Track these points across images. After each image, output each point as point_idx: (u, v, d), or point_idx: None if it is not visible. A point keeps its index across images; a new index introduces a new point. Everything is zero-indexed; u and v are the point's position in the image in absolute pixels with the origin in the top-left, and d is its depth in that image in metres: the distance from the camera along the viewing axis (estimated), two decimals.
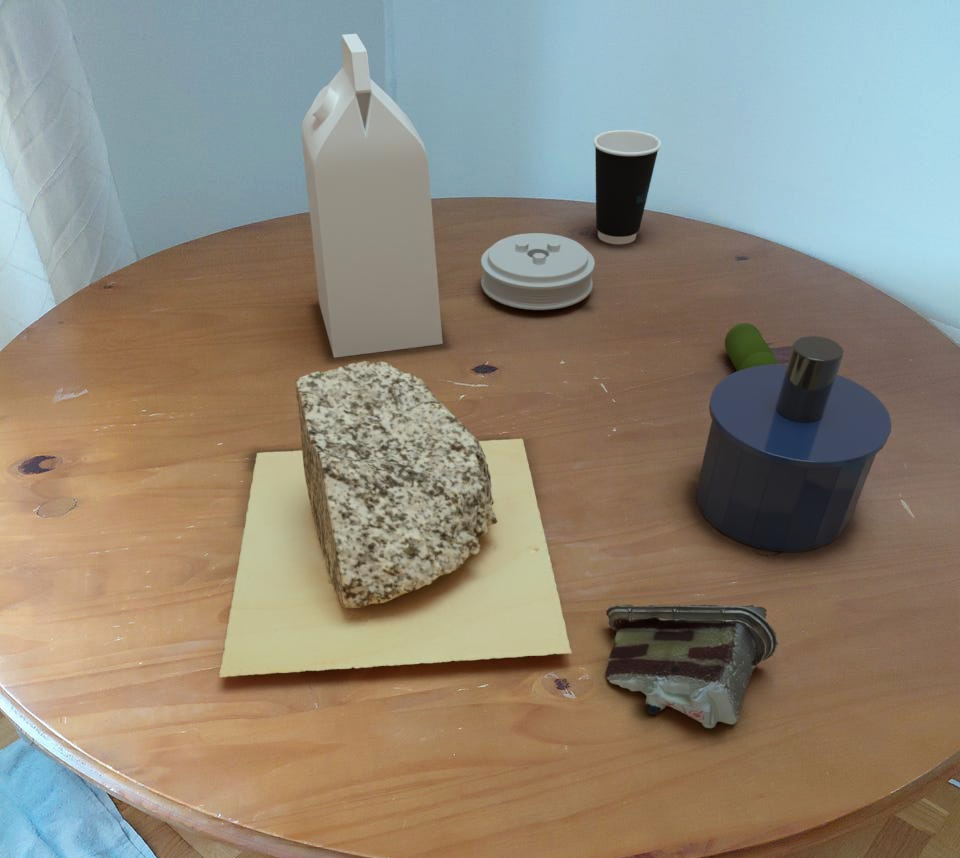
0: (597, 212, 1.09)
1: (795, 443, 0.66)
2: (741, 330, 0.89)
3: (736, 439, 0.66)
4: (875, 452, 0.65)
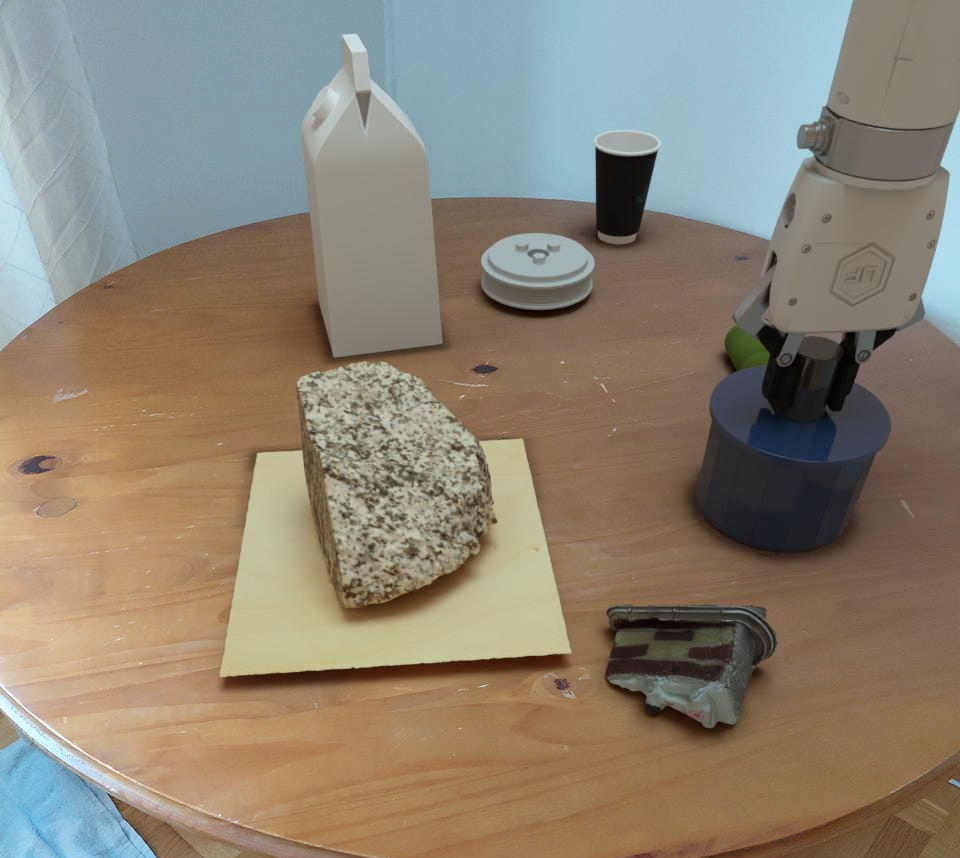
0: (597, 212, 1.09)
1: (795, 443, 0.66)
2: (741, 330, 0.89)
3: (736, 439, 0.66)
4: (875, 452, 0.65)
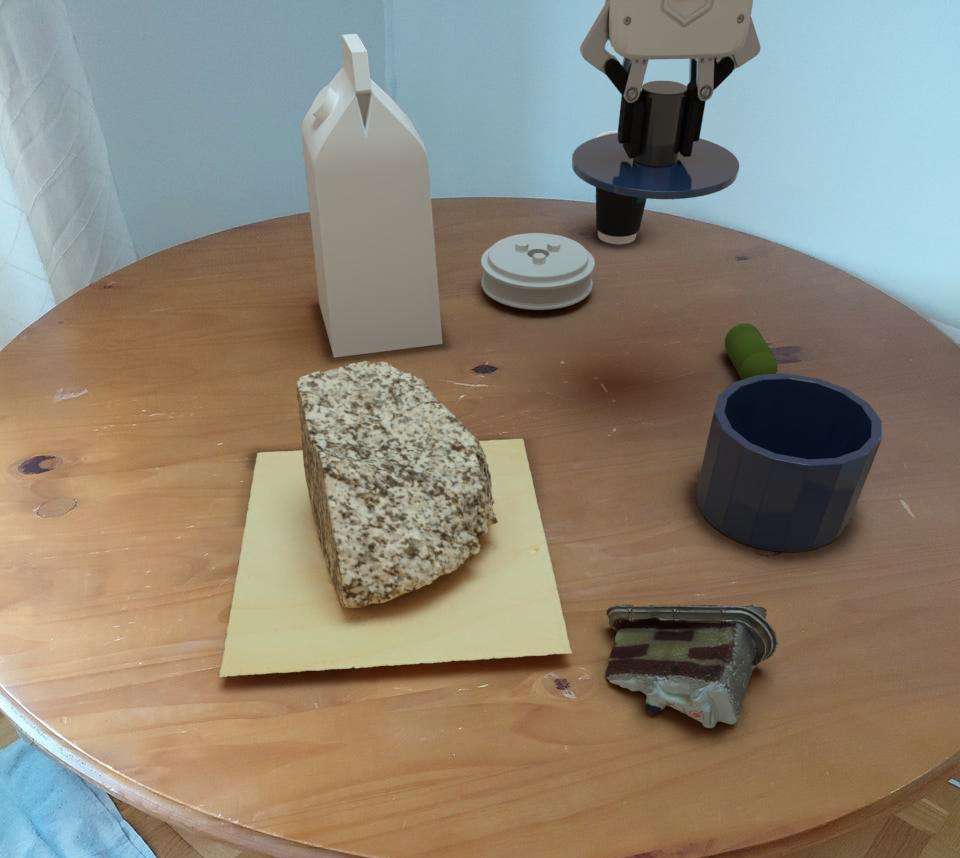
0: (597, 212, 1.09)
1: (645, 180, 0.70)
2: (741, 330, 0.89)
3: (590, 178, 0.70)
4: (720, 188, 0.70)
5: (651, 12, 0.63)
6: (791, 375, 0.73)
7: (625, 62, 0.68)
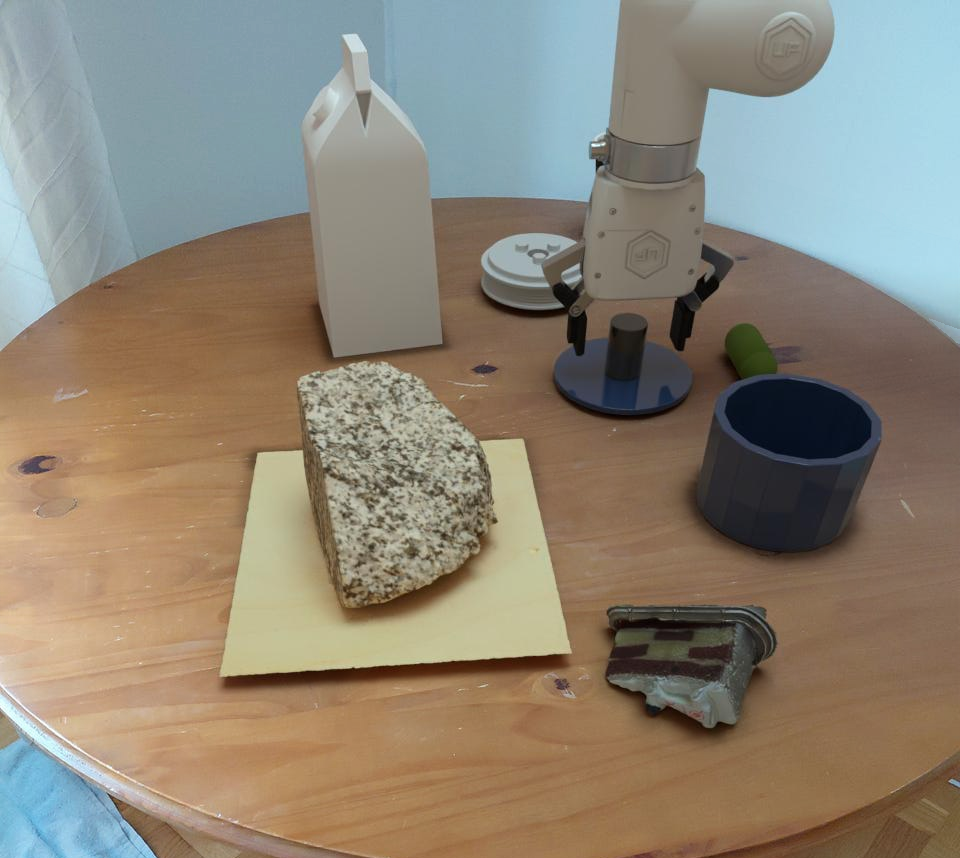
0: None
1: (613, 396, 0.84)
2: (741, 330, 0.89)
3: (568, 393, 0.85)
4: (675, 403, 0.84)
5: (617, 269, 0.77)
6: (791, 375, 0.73)
7: (579, 283, 0.81)
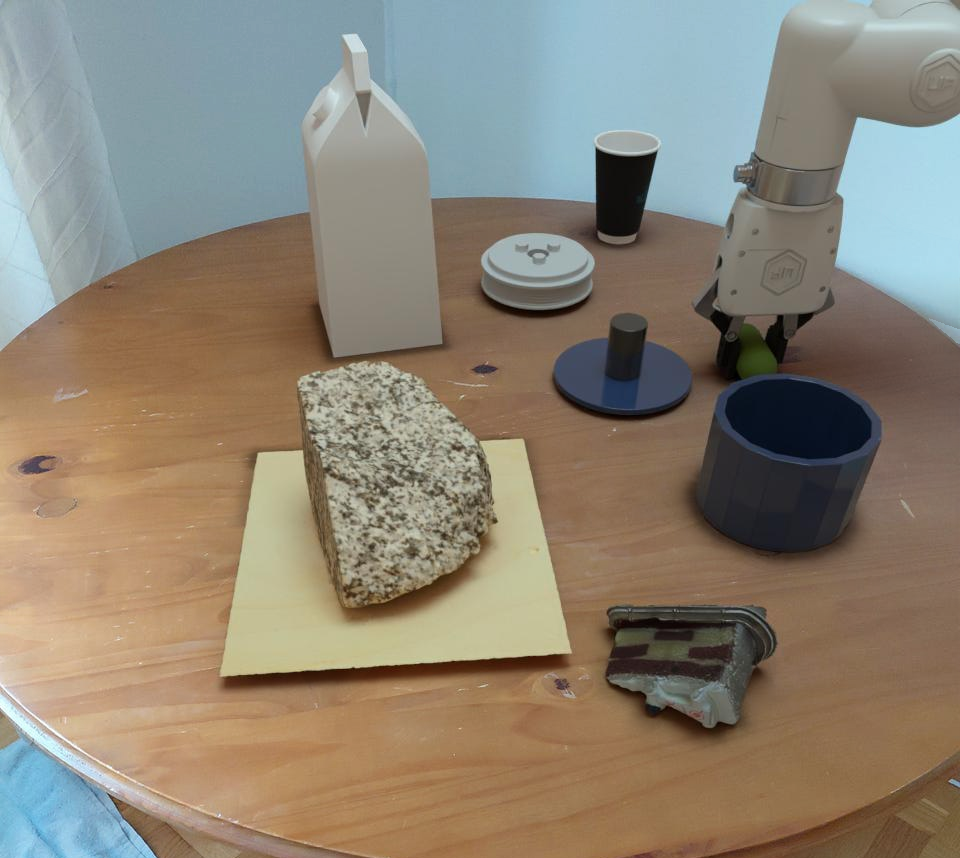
0: (597, 212, 1.09)
1: (613, 396, 0.84)
2: (741, 330, 0.89)
3: (568, 393, 0.85)
4: (675, 403, 0.84)
5: (753, 287, 0.80)
6: (791, 375, 0.73)
7: None
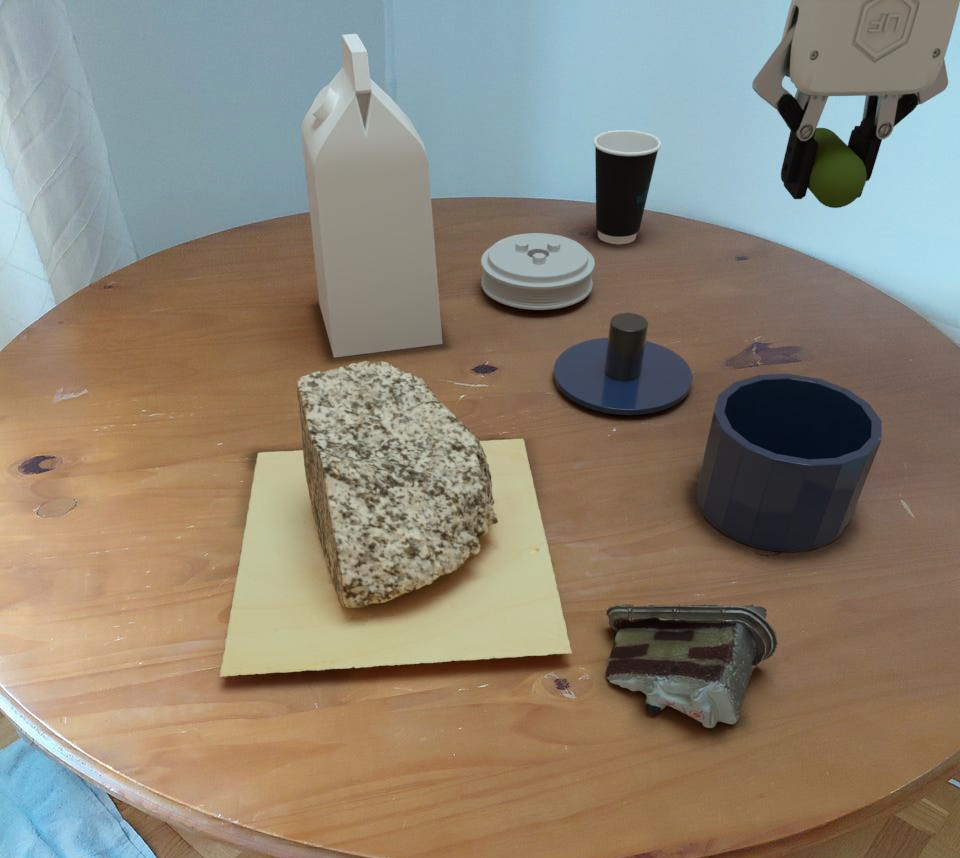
0: (597, 212, 1.09)
1: (613, 396, 0.84)
2: (815, 135, 0.66)
3: (568, 393, 0.85)
4: (675, 403, 0.84)
5: (841, 46, 0.58)
6: (791, 375, 0.73)
7: (798, 97, 0.63)
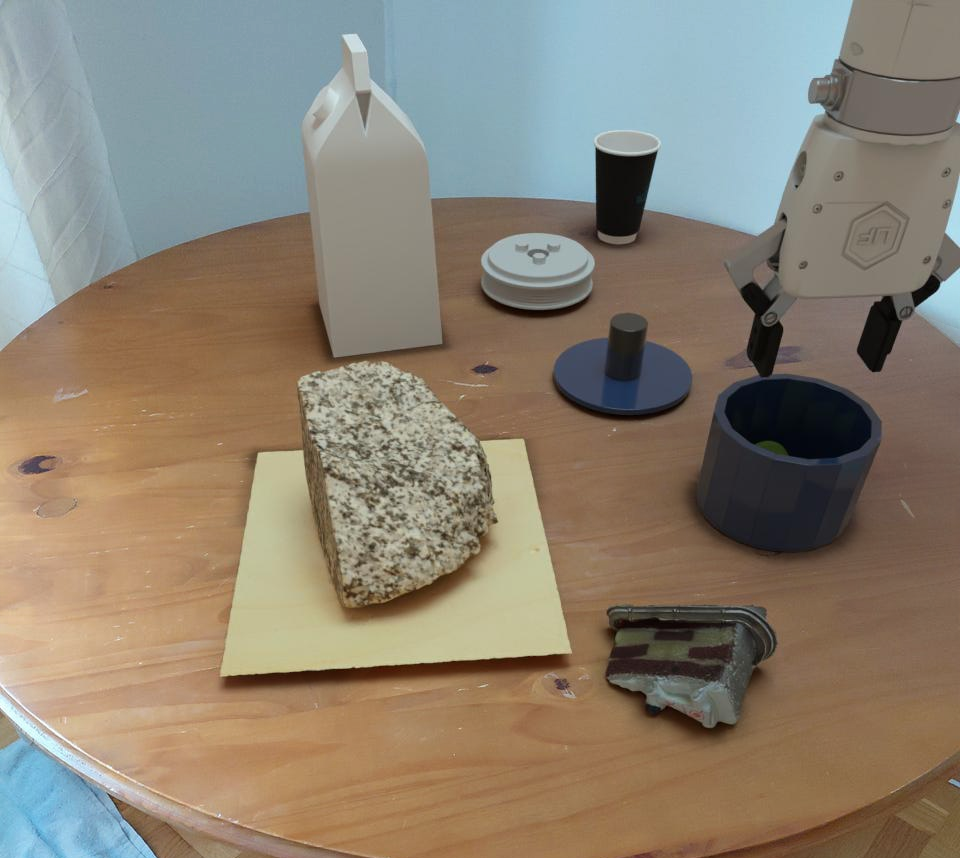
0: (597, 212, 1.09)
1: (613, 396, 0.84)
2: None
3: (568, 393, 0.85)
4: (675, 403, 0.84)
5: (831, 257, 0.57)
6: (791, 375, 0.73)
7: (771, 281, 0.62)
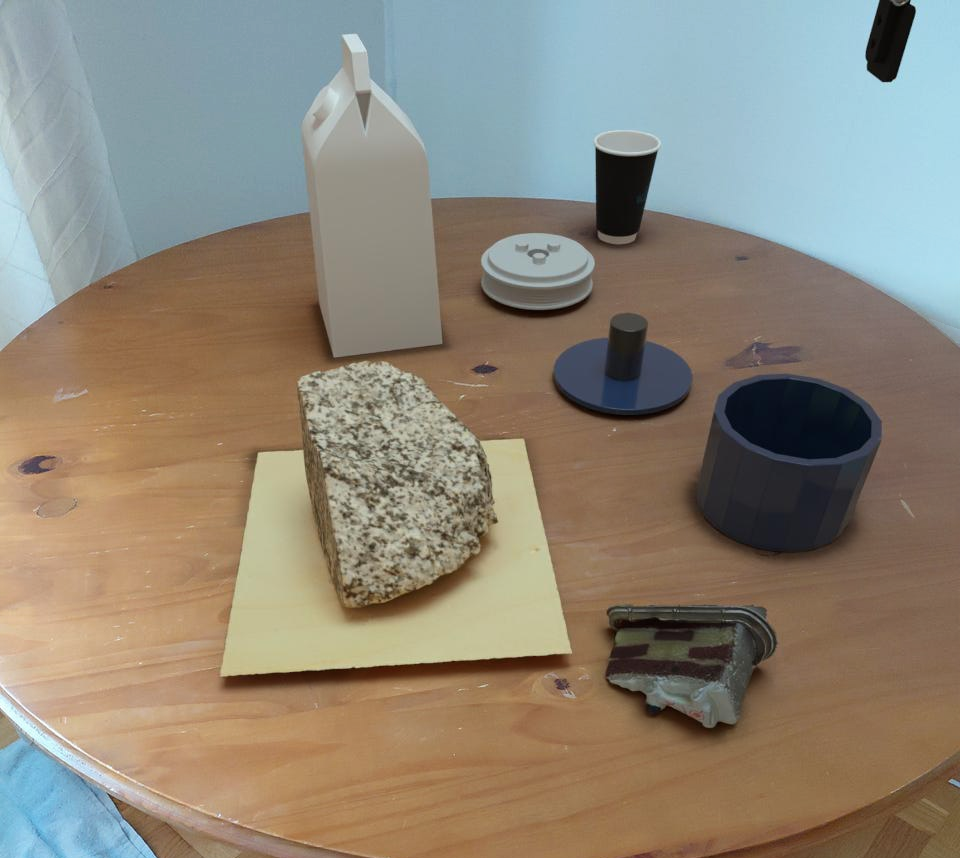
0: (597, 212, 1.09)
1: (613, 396, 0.84)
2: None
3: (568, 393, 0.85)
4: (675, 403, 0.84)
5: None
6: (791, 375, 0.73)
7: None
